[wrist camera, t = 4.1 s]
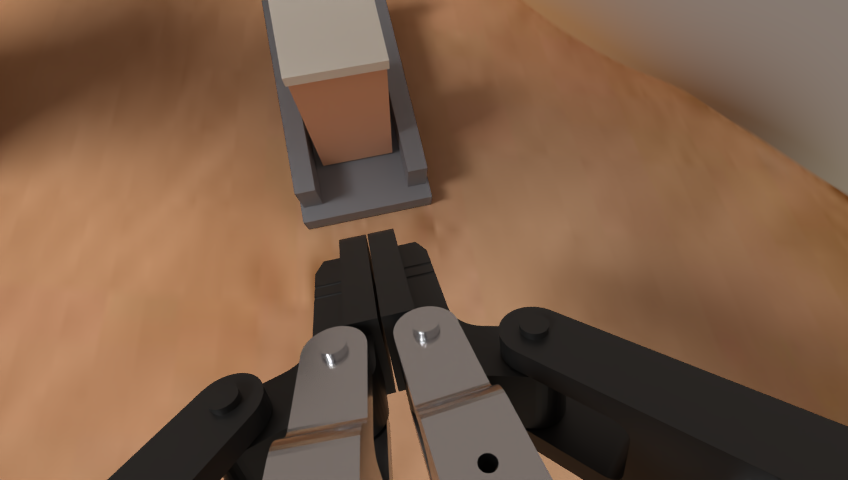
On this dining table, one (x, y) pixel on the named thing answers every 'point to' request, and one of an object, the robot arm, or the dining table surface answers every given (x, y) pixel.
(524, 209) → the dining table surface
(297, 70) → the block
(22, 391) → the dining table surface
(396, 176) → the key track
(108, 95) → the dining table surface
